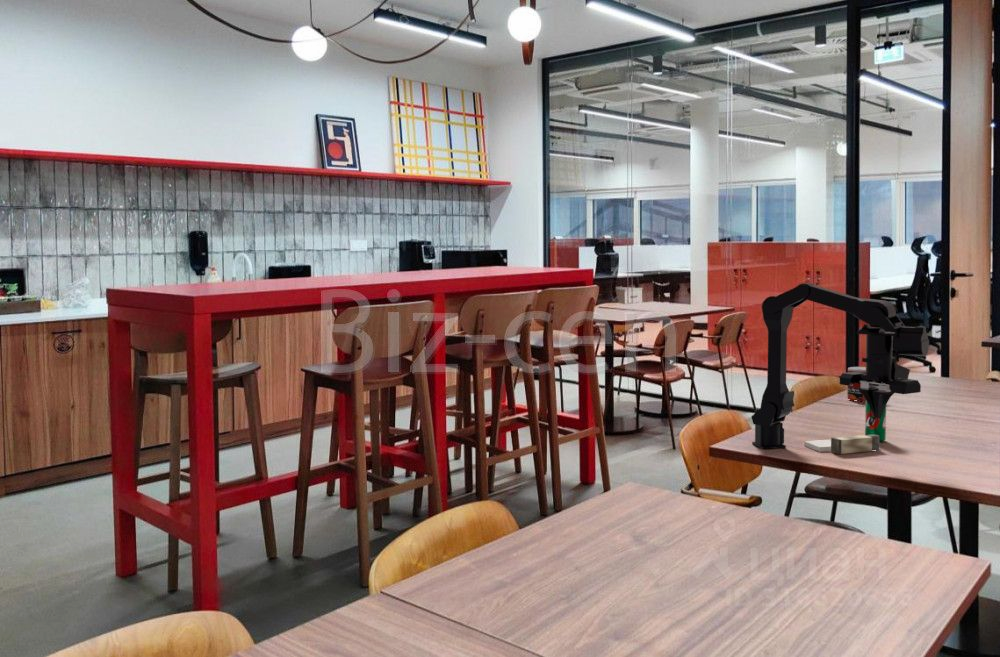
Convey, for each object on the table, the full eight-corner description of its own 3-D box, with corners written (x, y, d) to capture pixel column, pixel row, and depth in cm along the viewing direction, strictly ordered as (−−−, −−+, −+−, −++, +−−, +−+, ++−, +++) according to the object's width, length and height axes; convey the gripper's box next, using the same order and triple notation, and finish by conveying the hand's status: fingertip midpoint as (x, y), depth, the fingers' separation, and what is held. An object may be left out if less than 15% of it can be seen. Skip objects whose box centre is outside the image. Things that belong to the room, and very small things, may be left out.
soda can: (887, 443, 219) (888, 398, 218) (867, 442, 220) (868, 398, 219) (882, 438, 224) (883, 395, 223) (862, 438, 225) (863, 394, 224)
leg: (873, 447, 213) (874, 433, 213) (881, 450, 211) (882, 436, 210) (830, 451, 210) (831, 437, 210) (838, 454, 207) (838, 440, 207)
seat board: (827, 455, 207) (827, 450, 207) (804, 445, 218) (804, 441, 217) (884, 451, 210) (884, 446, 210) (858, 442, 221) (858, 437, 221)
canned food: (842, 399, 284) (842, 367, 283) (861, 397, 286) (862, 366, 285) (858, 402, 277) (858, 370, 276) (877, 401, 279) (878, 368, 278)
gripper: (937, 354, 192) (935, 421, 194) (869, 347, 209) (869, 408, 210) (904, 358, 187) (903, 426, 189) (838, 350, 204) (837, 413, 205)
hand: (878, 418), depth 198 cm, fingers closed
